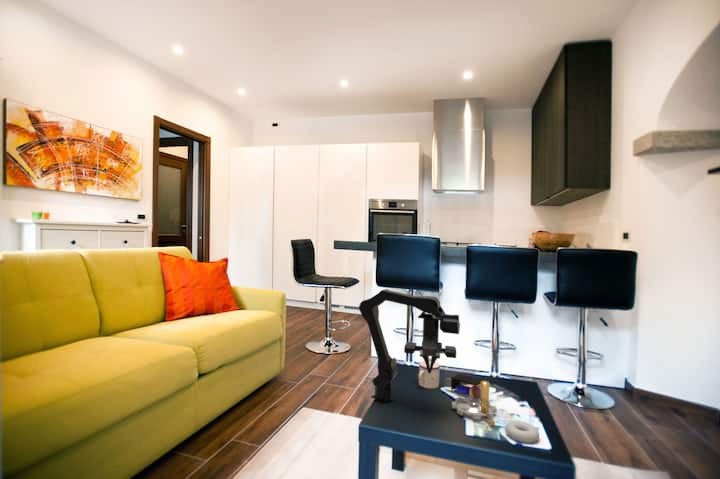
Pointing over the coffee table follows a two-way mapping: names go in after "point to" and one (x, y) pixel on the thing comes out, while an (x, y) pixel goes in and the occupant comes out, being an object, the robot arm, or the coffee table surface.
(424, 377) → the teacup with lid
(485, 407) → the sprocket wheel
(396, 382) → the coffee table surface
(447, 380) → the figurine character
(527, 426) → the donut
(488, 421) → the timing mark
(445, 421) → the coffee table surface
